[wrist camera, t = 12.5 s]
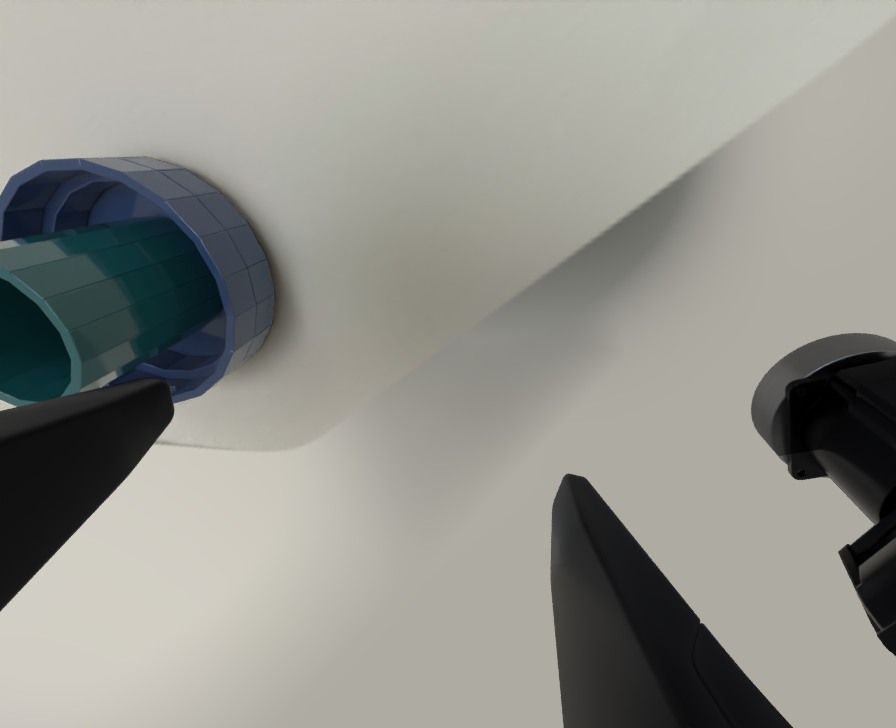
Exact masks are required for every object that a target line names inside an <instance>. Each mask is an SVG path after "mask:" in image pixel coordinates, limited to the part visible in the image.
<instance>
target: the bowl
mask: <svg viewBox="0 0 896 728" xmlns="http://www.w3.org/2000/svg"><path fill="white" fill-rule="evenodd" d="M147 216H160V217H166V218H169V219H172V220H173V221H174V222H175V223H176V224H177V225H178V227H179V228H180V229H181V230H182V231H183V232H184V233H185V234H186V235H187V236H188V237H189V238H190V239H191V240H192V241H193V242H194V244H195V246H196V247H197V249H198V251H199V253H200V254H201V256H202V258H203V259H204V261H205V263H206V264H207V266H208V268H209V269H210V271H211V273H212V275H213V276H214V278H215V280H216V283H217V286H218V290H219V293H220V297H221V300H222V304H223V309H222V311H221V313H220V314H219V316H218V317H217V318H216V319H215V320H214V321H212V322H211V323H209V324H208V325H206V327H204V328H202V329H201V330H199V331H197V332H196V333H194V334H192V335H190V336H189V337H187V338H185V339H183V340H182V341H180V342H178V343H176V344H175V345H173V346H171V347H170V348H168V349H166V350H164V351H163V352H161V353H159V354H157V355H156V356H154V357H152V358H150V359H149V360H147V361H145V362H144V363H142V364H140V365H138V366H137V367H135V368H133V369H131V370H130V371H128V372H126V373H124V374H123V375H121V376H119V377H118V378H116V379H114V380H112V381H111V382H109V383H107V384H105V385H104V386H102V387H105V386H109V385H114V384H118V383H122V382H126V381H131V380H135V379H139V378H143V377H154V378H158V379H163V380H166V381H167V382H168V383H169V384H170V387H171V393H172V399H173V403H178V402H181V401H185V400H188V399H191V398H195V397H198V396H201V395H203V394H204V393H205V392H207V391H208V390H209V389H210V388H212V387H213V386H214V385H216V384H217V383H218V382H219V381H221V380H222V379H223V378H224V377H226V376H227V375H228V374H229V373H231V372H232V371H233V370H235V369H236V368H237V367H238V366H240V365H241V364H242V363H243V362H245V361H246V360H247V359H248V358H249V357H250V356H252V355H253V354H254V353H255V352H256V351H258V350H259V349H260V347H261V346H262V344H263V342H264V340H265V338H266V336H267V334H268V332H269V330H270V328H271V326H272V321H273V309H274V297H275V294H274V293H275V291H274V286H273V282H272V277H271V273H270V269H269V264H268V260H267V259H266V256H265V254H264V252H263V250H262V248H261V247H260V245H259V243H258V241H257V239H256V237H255V235H254V233H253V231H252V230H251V228H250V226H249V225H248V223H247V221H246V220H245V219H244V218H243V217H242V216H241V215H240V214H239V212H238V211H237V210H236V209H235V208H234V207H233V206H232V205H231V203H230V202H229V201H228V200H227V199H226V198H225V197H224V196H223V195H222V193H219V191H217V190H216V189H214V188H213V187H211V186H210V185H208V184H207V183H205V182H204V181H202V180H201V179H200V178H198V177H197V176H195V175H194V174H192V173H191V172H189V171H188V170H185V169H184V168H181V167H178V166H175V165H172V164H169V163H166V162H163V161H160V160H157V159H154V158H150V157H113V158H73V159H50V160H40V161H38V162H36V163H34V164H33V165H31V166H29V167H27V168H26V169H24V170H22V171H20V172H19V173H17V174H15V175H13V176H12V177H11V178H10V179H9V181H8V183H7V185H6V186H5V188H4V190H3V192H2V193H1V195H0V242H2V241H8V240H13V239H19V238H24V237H30V236H35V235H41V234H46V233H52V232H57V231H63V230H68V229H74V228H79V227H85V226H90V225H96V224H101V223H107V222H112V221H118V220H123V219H129V218H134V217H147Z"/></svg>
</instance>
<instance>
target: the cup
mask: <svg viewBox="0 0 896 728" xmlns="http://www.w3.org/2000/svg"><path fill="white" fill-rule="evenodd" d="M222 309H223V304H222V300H221V297H220V293H219V290H218V286H217V283H216V280H215V278H214V276H213V275H212V273H211V271H210V269H209V268H208V266H207V264H206V263H205V261H204V259H203V258H202V256H201V254H200V253H199V251H198V249H197V247H196V246H195V244H194V242H193V241H192V240H191V239H190V238H189V237H188V236H187V235H186V234H185V233H184V232H183V231H182V230H181V229H180V228H179V227H178V225H177V224H176V223H175V222H174V221H173V220H172V219H169V218H166V217H160V216H147V217H134V218H129V219H123V220H118V221H112V222H107V223H101V224H96V225H90V226H85V227H79V228H74V229H68V230H63V231H57V232H52V233H46V234H41V235H35V236H30V237H24V238H19V239H13V240H8V241H2V242H0V400H3V401H5V402H7V403H10V404H12V405H14V406H16V407H20V406H24V405H29V404H33V403H37V402H41V401H46V400H50V399H54V398H58V397H63V396H67V395H71V394H75V393H80V392H84V391H88V390H92V389H97V388H100V387H102V386H104V385H105V384H107V383H109V382H111V381H112V380H114V379H116V378H118V377H119V376H121V375H123V374H124V373H126V372H128V371H130V370H131V369H133V368H135V367H137V366H138V365H140V364H142V363H144V362H145V361H147V360H149V359H150V358H152V357H154V356H156V355H157V354H159V353H161V352H163V351H164V350H166V349H168V348H170V347H171V346H173V345H175V344H176V343H178V342H180V341H182V340H183V339H185V338H187V337H189V336H190V335H192V334H194V333H196V332H197V331H199V330H201V329H202V328H204V327H206V325H208V324H209V323H211V322H212V321H214V320H215V319H216V318H217V317H218V316H219V314H220V313H221V311H222Z"/></svg>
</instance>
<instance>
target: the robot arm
mask: <svg viewBox="0 0 896 728" xmlns="http://www.w3.org/2000/svg"><path fill="white" fill-rule="evenodd" d="M798 388H801V390H799V391H798V392H795V391H796V390H797V389H798ZM785 403H786V430H787V458H788V471H789V473H790V474H791V476H792V477H793V478H795V479H797V480H805V479H811V478H817V477H825V476H829V477H830V478H831V479H832V480H833V482H834V483H835V484H836V485H837V486H838V487H839V488H840V489H841V490H842V491H843V492H844V493H845V494H846V495H847V496H848V497H849V498H850V499H851V500H852V501H853V502H854V504H855V505H856V506H857V507H858V508H859V509H860V510H861V511H862V512H863V513H864V514H865V515H866V516H867V517H868V518H869V519H870V520H871V521H872V522H873V523H874V524H875V525H874V526H873V527H872V528H870V529H869V530H868V531H867V532H866V533H864V534H863V535H862V536H861V537H860V538H858V539H857V540H856V541H855V542H854V543H853V544H851V545H849V544H847V545H846V546H844V547H843V548H842V549H841V550H840V551H839V552H838V553H839V555H840V557H841V560H842V562H843V564H844V566H845V568H846V570H847V572H848V575H849V577H850V579H851V581H852V583H853V585H854V588H855V589H856V592H857V595H858V597H859V599H860V601H861V603H862V605H863V607H864V609H865V611H866V613H867V616H868V618H869V620H870V622H871V624H872V626H873V627H874V629H875V631H876V633H877V636H878V638H879V639H880V640H881V642H882V643H883V645H884V646H885V647H886V648H887V649H888V650H889V651H890V652H892V653H893V654H894V655H895V656H896V359H891V360H887V361H882V362H877V363H872V364H867V365H862V366H857V367H852V368H847V369H843V370H840V371H836V372H832V373H827V374H822V375H817V376H812V377H807V378H802V379H797V380H794V381H791V382H790V383H788V385H787V386H786V388H785ZM173 416H174V405H173V399H172V393H171V387H170V384H169V383H168V382H167V381H166V380H163V379H158V378H154V377H143V378H139V379H135V380H131V381H126V382H122V383H118V384H114V385H109V386H105V387H101V388H97V389H92V390H88V391H84V392H80V393H75V394H71V395H67V396H63V397H58V398H54V399H50V400H46V401H41V402H37V403H33V404H29V405H24V406H20V407H16V408H12V409H7V410H3V411H0V611H1V610H2V609H3V608H4V607H5V606H6V605H7V604H8V603H9V602H10V601H11V599H12V598H13V597H14V596H15V595H16V594H17V593H18V592H19V591H20V590H21V589H22V588H23V587H24V586H25V585H26V584H27V583H28V582H29V580H30V579H31V578H32V577H33V576H34V575H35V574H36V573H37V572H38V571H39V570H40V569H41V568H42V567H43V566H44V565H45V563H47V561H48V560H49V559H50V558H51V557H52V556H53V555H54V554H55V553H56V552H57V551H58V549H60V548H61V547H62V546H63V545H64V544H65V542H66V541H67V540H68V539H69V538H70V537H71V536H72V535H73V534H74V533H75V532H76V531H77V530H78V529H79V528H80V526H81V525H82V524H83V523H84V522H85V521H86V520H87V519H88V518H89V517H90V516H91V515H92V514H93V513H94V512H95V511H96V510H97V509H98V508H99V506H100V505H101V504H102V503H103V502H104V501H105V500H106V499H107V498H108V497H109V496H110V495H111V494H112V493H113V492H114V491H115V490H116V489H117V487H118V486H119V485H120V484H121V483H122V482H123V481H124V480H125V479H126V478H127V476H128V475H129V474H130V473H131V472H132V470H133V469H134V468H135V467H136V466H137V464H138V463H139V462H140V460H141V459H142V458H143V456H144V455H145V454H146V453H147V451H148V450H149V449H150V448H151V446H152V445H153V444H154V442H155V441H156V440H157V439H158V437H159V436H160V435H161V434H162V432H163V431H164V430H165V428H166V427H167V426H168V425H169V423H170V422H171V420H172V418H173ZM800 470H801V471H800ZM798 471H799V472H798ZM551 590H552V591H551V592H552V603H553V613H554V625H555V636H556V646H557V658H558V669H559V680H560V691H561V701H562V713H563V723H564V728H793V727H792V726H791V725H790V724H789V723H788V722H787V721H786V719H785V718H784V717H783V716H782V715H781V714H780V713H779V712H778V711H777V710H776V708H775V707H774V706H773V705H772V704H771V703H770V702H769V701H768V699H767V698H766V697H765V696H764V695H763V694H762V693H761V692H760V690H759V689H758V688H757V687H756V686H755V685H754V684H753V683H752V681H751V680H750V679H749V678H748V677H747V676H746V675H745V673H744V672H743V671H742V670H741V669H740V667H739V666H738V665H737V664H736V663H735V661H734V660H733V659H732V658H731V657H730V655H729V654H728V653H727V652H726V651H725V649H724V648H723V647H722V646H721V645H720V644H719V642H718V641H717V640H716V638H715V637H714V636H713V635H712V634H711V632H710V631H709V630H708V629H707V627H706V626H705V625H704V624H702V623H700V619H699V618H698V617H697V615H696V614H695V613H694V611H693V610H692V609H691V608H690V607H689V605H688V604H687V603H686V602H685V600H684V599H683V598H682V597H681V595H680V594H679V593H678V592H677V591H676V589H675V588H674V587H673V586H672V584H671V583H670V582H669V580H668V579H667V578H666V577H665V576H664V574H663V573H662V572H661V571H660V569H659V568H658V567H657V566H656V564H655V563H654V562H653V561H652V559H651V558H650V557H649V556H648V554H647V553H646V552H645V551H644V550H643V548H642V547H641V546H640V545H639V543H638V542H637V541H636V540H635V538H634V537H633V536H632V535H631V533H630V532H629V531H628V530H627V528H626V527H625V526H624V525H623V523H622V522H621V521H620V520H619V519H618V518H617V516H616V515H615V514H614V512H613V511H612V510H611V509H610V507H609V506H608V505H607V504H606V502H605V501H604V500H603V499H602V497H601V496H600V495H599V494H598V493H597V491H596V490H595V489H594V488H593V486H592V485H591V484H590V483H589V481H588V480H587V479H586V478H584V477H581V476H577V475H573V474H566V475H565V476H564V477H563V480H562V482H561V484H560V487H559V490H558V492H557V494H556V497H555V499H554V503H553V508H552V536H551Z"/></svg>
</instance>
